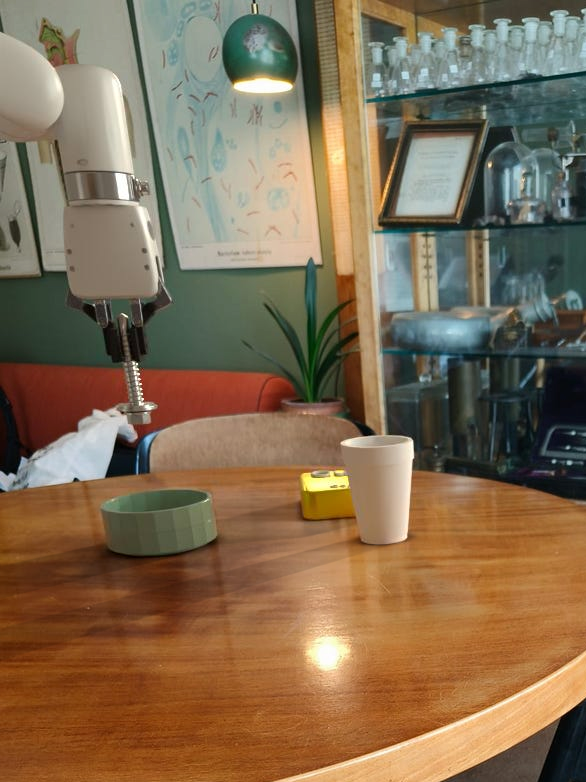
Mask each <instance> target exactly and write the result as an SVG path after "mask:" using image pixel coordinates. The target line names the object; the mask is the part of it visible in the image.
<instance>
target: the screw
mask: <svg viewBox="0 0 586 782" xmlns="http://www.w3.org/2000/svg"><path fill="white" fill-rule="evenodd" d="M116 322H117V323H116V324H117V327H118V329H119V336H118V337H119V338H120V341H119V343H120V347H119V348H121V352H120V353H122V357H121V358H122V359H123V362H121V363H122V364H123V367H122V369H123V370H124V372H122V373H123V374H124V377H123V379H125V382H124V383H125V384H126V387H125V388H126V389H127V392H126V394H128V396H127V398H128V400H129V401H128V402H124V403H119V404H118V406H116V407H115V409H116V411H117V412H123V413H124V416H126V421H127V424H128V425H131V426H139V425H140V426H141V425H146V424H147V425H148V424H151V423H152V418H151V414H152V411H153V410H156V409H158V408H159V407H158V404H155V402H153V401H144V398H143V395H144V394H143V392H142V390H143V389H142V388H141V385H142V383H140V382H141V381H140V380H141V378H139V377H140V373H139V370H140V369H139V368H138V366H139V364H138V362H136V361H134V357H133V351H132V345H131V339H130V332H129V329H130V320H129V317H128V315H126V314H124V313H120V314H118V315H117V316H116Z"/></svg>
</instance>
